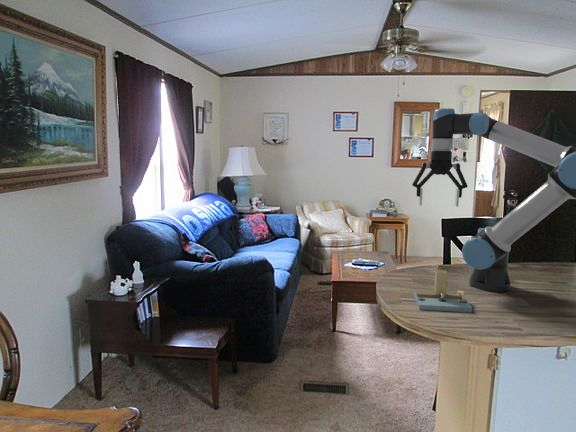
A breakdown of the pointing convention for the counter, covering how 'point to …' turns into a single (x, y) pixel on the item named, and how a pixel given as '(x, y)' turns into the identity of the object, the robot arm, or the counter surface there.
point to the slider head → (440, 283)
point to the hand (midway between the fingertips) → (438, 205)
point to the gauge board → (442, 302)
